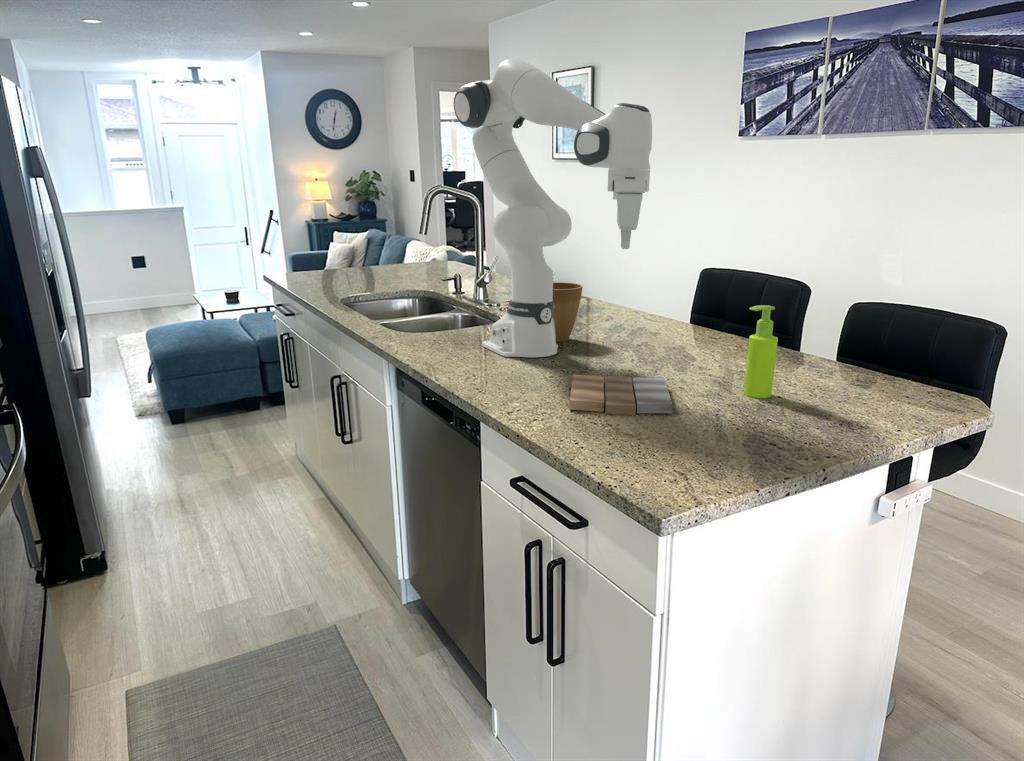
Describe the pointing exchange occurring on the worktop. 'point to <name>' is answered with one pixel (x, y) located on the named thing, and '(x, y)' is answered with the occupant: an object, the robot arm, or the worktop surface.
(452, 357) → the worktop surface
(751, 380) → the soap dispenser
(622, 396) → the walnut strip
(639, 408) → the grey plank
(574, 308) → the plant pot
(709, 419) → the worktop surface
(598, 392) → the smoked oak plank
